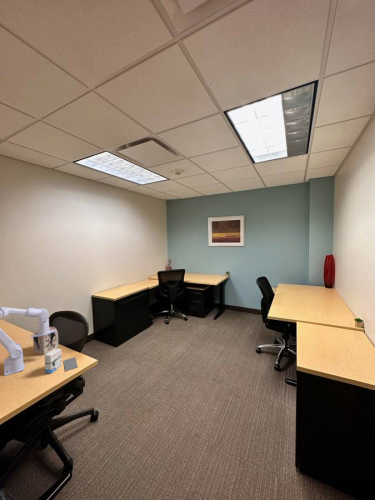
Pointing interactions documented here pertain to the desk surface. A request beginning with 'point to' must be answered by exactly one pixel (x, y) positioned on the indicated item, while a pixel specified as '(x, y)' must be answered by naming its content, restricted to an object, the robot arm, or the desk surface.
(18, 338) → the desk surface
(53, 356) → the ink box
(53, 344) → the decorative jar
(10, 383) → the desk surface
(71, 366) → the mat
